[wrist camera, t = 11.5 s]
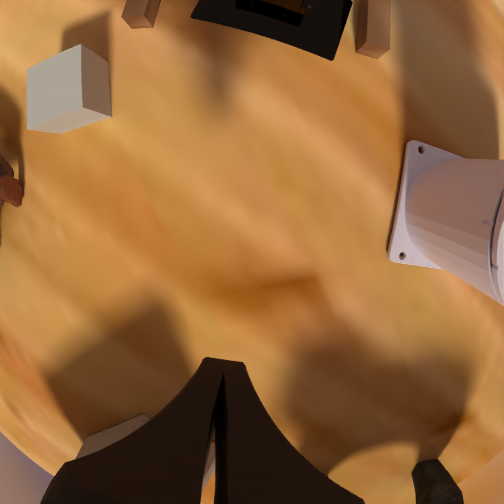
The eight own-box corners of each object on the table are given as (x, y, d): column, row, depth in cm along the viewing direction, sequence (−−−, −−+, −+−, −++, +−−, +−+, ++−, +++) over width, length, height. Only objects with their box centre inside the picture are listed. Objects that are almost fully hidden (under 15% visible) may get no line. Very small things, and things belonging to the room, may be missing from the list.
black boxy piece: (371, 7, 16) (397, -23, 11) (346, 86, 17) (373, 65, 13) (205, -44, 14) (198, -81, 10) (164, 30, 16) (144, -2, 12)
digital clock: (109, 478, 26) (84, 547, 15) (58, 425, 24) (16, 497, 13) (238, 463, 24) (236, 558, 14) (191, 400, 22) (167, 514, 12)
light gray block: (109, 62, 16) (81, 43, 12) (112, 117, 17) (82, 107, 13) (59, 81, 16) (27, 69, 12) (62, 133, 17) (27, 129, 13)
